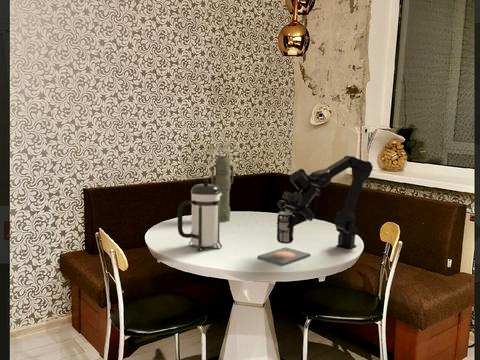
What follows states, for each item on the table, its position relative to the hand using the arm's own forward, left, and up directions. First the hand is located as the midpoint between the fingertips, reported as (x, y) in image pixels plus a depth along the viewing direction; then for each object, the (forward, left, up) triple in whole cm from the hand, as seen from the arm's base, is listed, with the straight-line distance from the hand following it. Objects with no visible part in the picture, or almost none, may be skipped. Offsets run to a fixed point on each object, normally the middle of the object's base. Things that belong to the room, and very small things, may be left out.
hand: (282, 226), depth 185 cm
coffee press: (+33, +14, -13) cm, 38 cm away
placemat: (0, -1, -13) cm, 13 cm away
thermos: (+65, -28, -13) cm, 72 cm away
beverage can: (0, -1, -7) cm, 7 cm away
